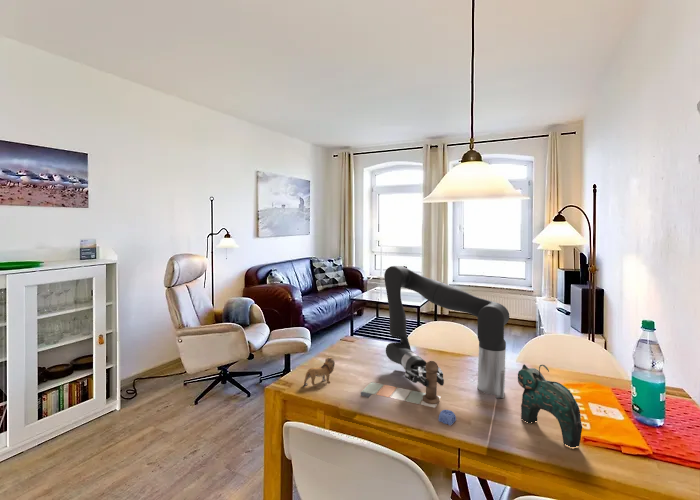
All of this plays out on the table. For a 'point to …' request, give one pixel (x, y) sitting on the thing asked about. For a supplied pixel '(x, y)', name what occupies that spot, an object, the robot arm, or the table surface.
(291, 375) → the table surface
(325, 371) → the lion figurine
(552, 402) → the ceramic cat
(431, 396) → the pawn
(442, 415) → the decorative dice
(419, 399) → the game board
